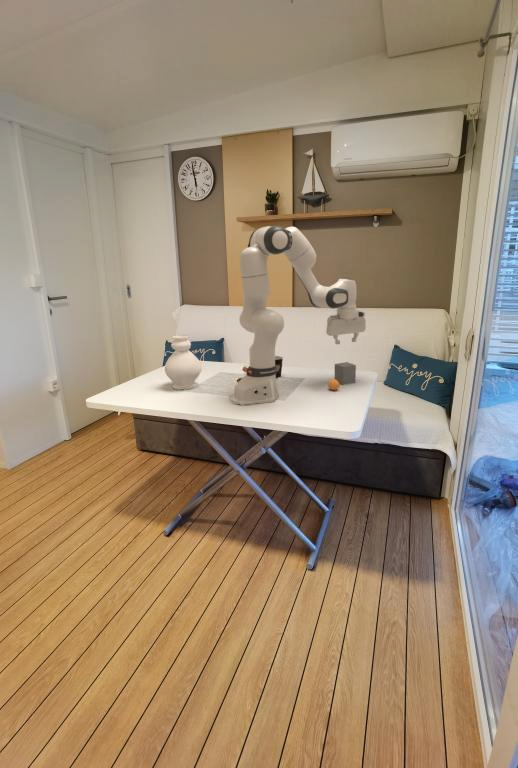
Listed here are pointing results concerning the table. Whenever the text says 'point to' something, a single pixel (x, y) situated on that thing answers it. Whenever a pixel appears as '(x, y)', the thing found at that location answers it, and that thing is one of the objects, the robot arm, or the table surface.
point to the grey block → (345, 373)
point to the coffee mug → (278, 365)
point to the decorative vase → (182, 364)
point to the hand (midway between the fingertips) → (345, 343)
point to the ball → (333, 384)
